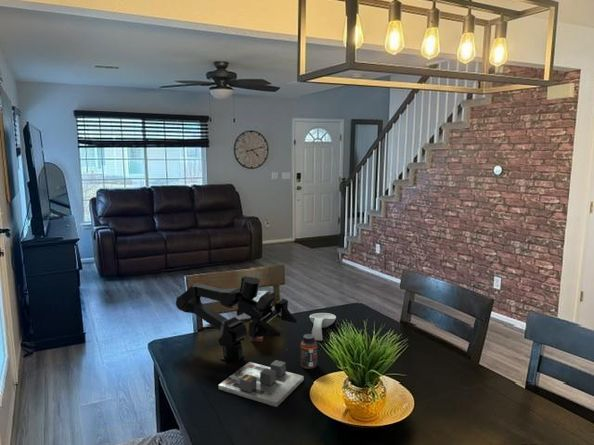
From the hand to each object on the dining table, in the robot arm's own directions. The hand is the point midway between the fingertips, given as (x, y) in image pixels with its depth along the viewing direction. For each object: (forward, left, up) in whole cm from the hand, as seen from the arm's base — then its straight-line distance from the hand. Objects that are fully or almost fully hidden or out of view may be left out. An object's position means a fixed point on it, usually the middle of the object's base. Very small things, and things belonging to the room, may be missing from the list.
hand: (288, 328), depth 151 cm
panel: (-6, -9, -18) cm, 20 cm away
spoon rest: (-8, +42, -18) cm, 47 cm away
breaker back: (-3, -2, -16) cm, 16 cm away
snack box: (-30, +28, -18) cm, 45 cm away
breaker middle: (-3, -9, -16) cm, 18 cm away
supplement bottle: (+2, +10, -18) cm, 21 cm away
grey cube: (-7, -15, -16) cm, 23 cm away
